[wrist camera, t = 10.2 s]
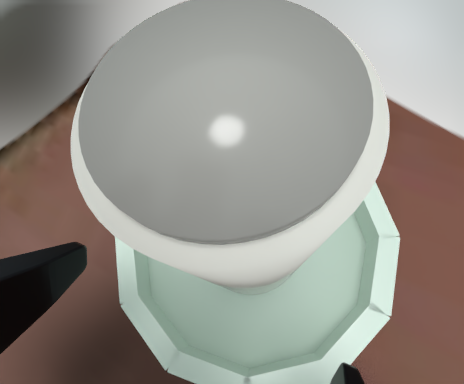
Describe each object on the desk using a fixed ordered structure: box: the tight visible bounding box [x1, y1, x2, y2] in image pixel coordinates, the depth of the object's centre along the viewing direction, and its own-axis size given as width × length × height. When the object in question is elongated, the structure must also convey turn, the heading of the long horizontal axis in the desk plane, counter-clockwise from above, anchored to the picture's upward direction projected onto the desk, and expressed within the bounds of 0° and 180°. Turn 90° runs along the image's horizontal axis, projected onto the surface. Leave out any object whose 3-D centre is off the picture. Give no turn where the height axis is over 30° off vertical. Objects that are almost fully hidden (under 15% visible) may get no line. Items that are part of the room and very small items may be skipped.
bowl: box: [115, 182, 400, 384], centre depth 17 cm, size 15×15×3 cm
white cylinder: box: [71, 0, 389, 295], centre depth 11 cm, size 6×6×13 cm
